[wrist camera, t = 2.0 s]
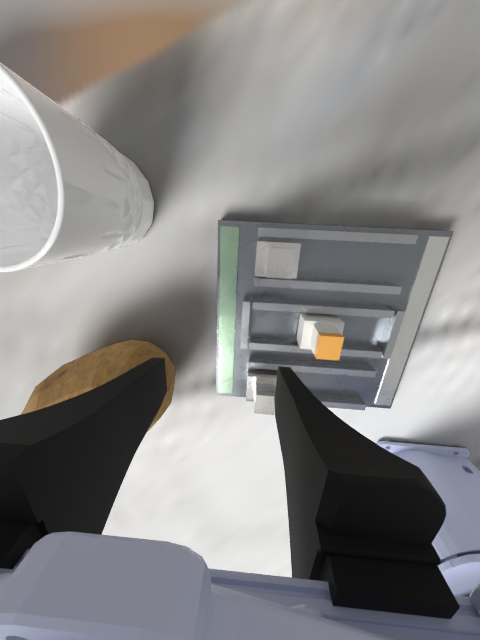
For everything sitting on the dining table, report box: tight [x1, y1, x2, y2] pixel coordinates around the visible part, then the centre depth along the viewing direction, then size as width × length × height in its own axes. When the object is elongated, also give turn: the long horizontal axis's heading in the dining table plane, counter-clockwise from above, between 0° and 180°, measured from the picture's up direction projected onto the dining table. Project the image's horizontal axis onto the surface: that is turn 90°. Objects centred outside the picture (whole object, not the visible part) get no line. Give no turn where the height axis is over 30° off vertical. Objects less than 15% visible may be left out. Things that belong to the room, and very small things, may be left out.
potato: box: [21, 340, 176, 430], centre depth 19 cm, size 9×16×9 cm, turn 125°
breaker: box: [296, 313, 345, 360], centre depth 18 cm, size 3×2×4 cm
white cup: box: [0, 63, 154, 272], centre depth 13 cm, size 8×8×10 cm
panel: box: [216, 220, 453, 415], centre depth 18 cm, size 17×16×5 cm
